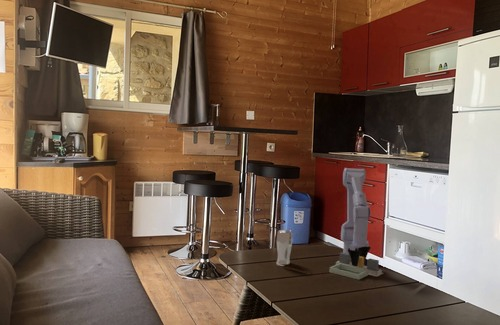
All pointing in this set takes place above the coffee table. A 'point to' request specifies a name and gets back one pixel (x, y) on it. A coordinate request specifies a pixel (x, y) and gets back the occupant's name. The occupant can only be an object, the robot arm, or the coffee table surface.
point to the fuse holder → (371, 272)
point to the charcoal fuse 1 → (344, 258)
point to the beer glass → (284, 246)
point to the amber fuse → (360, 262)
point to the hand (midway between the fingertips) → (358, 264)
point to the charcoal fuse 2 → (372, 264)
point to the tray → (336, 270)
